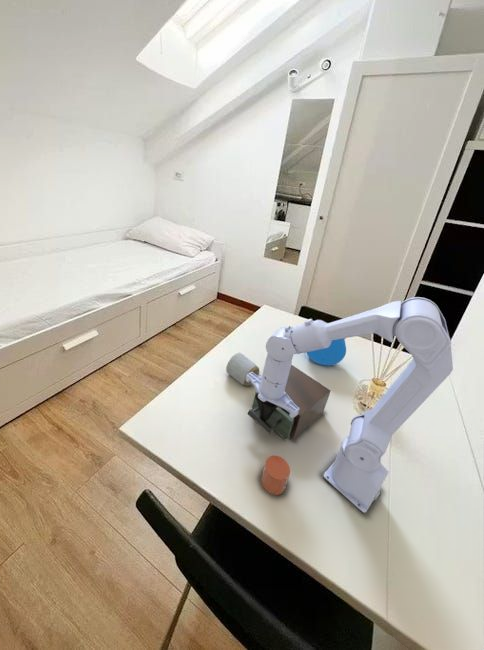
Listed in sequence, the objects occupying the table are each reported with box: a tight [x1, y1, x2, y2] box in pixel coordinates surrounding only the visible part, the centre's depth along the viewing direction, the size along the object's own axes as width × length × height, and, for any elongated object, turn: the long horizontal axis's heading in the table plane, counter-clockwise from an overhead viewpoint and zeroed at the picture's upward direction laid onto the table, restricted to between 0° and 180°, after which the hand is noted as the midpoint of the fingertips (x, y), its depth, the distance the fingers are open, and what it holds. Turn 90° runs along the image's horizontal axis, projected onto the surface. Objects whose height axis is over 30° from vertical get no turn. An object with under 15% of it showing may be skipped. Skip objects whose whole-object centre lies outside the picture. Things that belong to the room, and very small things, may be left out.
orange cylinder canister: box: [260, 454, 291, 496], centre depth 62 cm, size 5×5×5 cm
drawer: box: [247, 390, 296, 441], centre depth 77 cm, size 19×12×6 cm, turn 131°
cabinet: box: [285, 364, 332, 440], centre depth 81 cm, size 15×13×8 cm
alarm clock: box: [305, 338, 347, 366], centre depth 102 cm, size 13×6×15 cm, turn 71°
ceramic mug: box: [225, 352, 260, 387], centre depth 92 cm, size 11×8×8 cm
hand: (264, 418), depth 73 cm, fingers closed
